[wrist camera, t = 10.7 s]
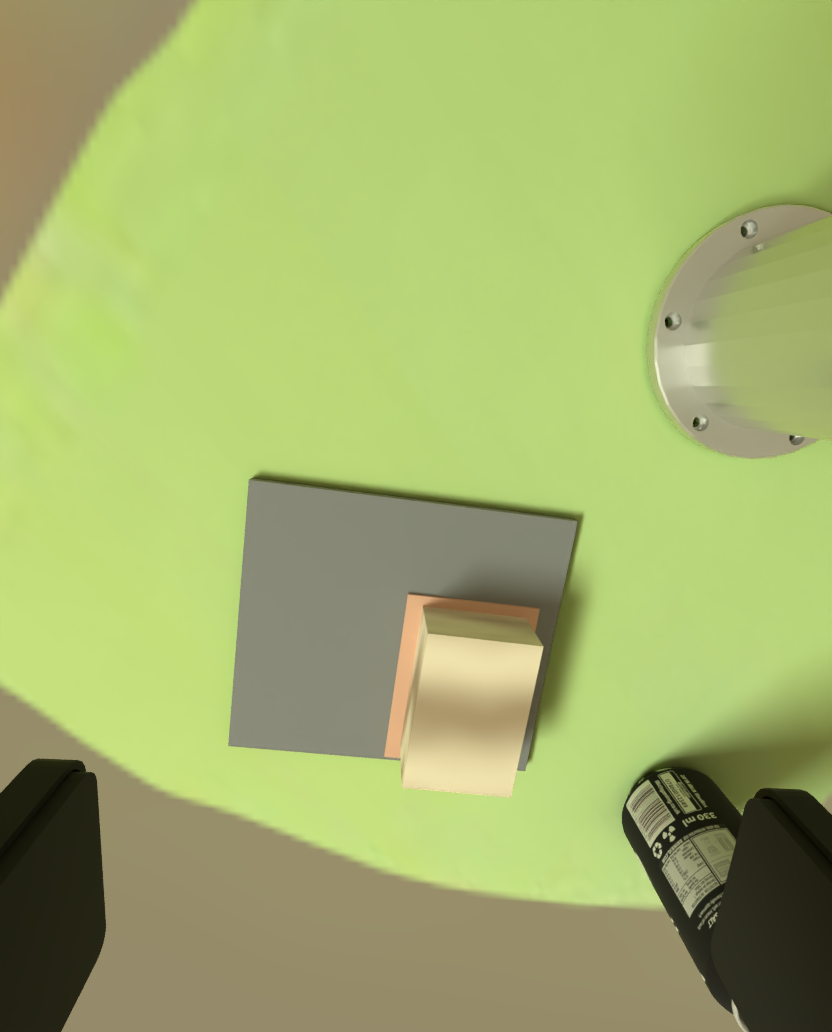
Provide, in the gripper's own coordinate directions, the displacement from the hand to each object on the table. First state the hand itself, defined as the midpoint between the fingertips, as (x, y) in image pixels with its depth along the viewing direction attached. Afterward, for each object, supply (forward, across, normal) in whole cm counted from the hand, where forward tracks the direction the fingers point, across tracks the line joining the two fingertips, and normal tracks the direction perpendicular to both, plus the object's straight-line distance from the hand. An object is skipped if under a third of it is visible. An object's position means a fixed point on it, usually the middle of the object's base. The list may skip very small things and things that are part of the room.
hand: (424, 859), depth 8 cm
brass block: (+23, -4, +10) cm, 26 cm away
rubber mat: (+24, 0, +8) cm, 25 cm away
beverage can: (+24, -19, +19) cm, 36 cm away
